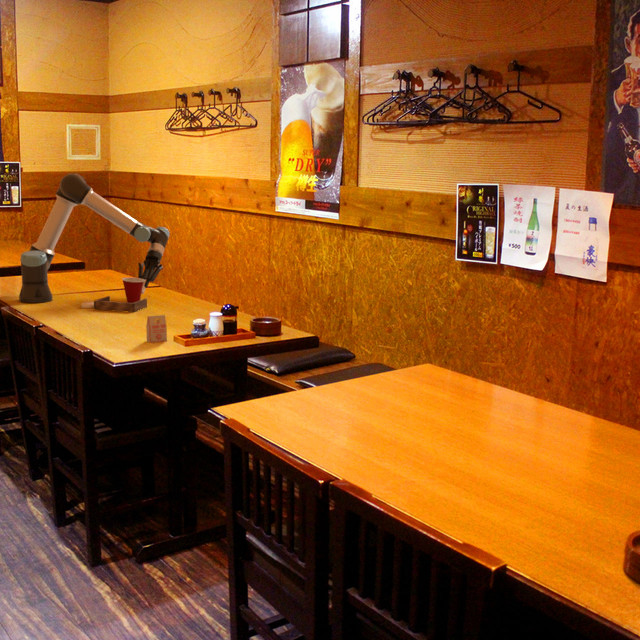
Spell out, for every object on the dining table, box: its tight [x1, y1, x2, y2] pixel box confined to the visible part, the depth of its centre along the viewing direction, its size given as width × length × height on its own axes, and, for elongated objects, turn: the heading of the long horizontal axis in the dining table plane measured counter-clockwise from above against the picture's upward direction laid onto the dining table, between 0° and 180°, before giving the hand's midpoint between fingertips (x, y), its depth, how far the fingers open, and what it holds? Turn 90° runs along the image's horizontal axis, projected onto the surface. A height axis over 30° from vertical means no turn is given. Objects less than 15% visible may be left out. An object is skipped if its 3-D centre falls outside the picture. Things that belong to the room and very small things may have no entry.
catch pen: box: [93, 295, 148, 313], centre depth 352 cm, size 20×13×4 cm, turn 77°
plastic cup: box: [121, 277, 145, 303], centre depth 364 cm, size 11×11×12 cm
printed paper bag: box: [145, 314, 168, 344], centre depth 291 cm, size 4×7×10 cm, turn 120°
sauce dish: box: [80, 301, 94, 309], centre depth 354 cm, size 8×8×2 cm
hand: (141, 292), depth 371 cm, fingers closed
